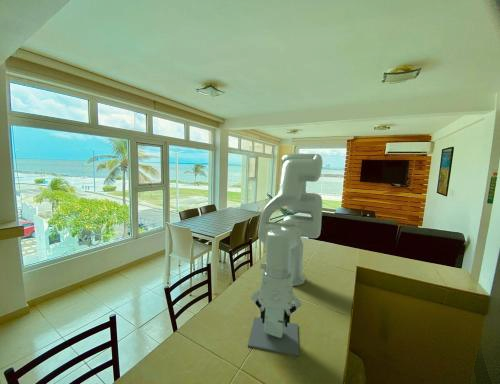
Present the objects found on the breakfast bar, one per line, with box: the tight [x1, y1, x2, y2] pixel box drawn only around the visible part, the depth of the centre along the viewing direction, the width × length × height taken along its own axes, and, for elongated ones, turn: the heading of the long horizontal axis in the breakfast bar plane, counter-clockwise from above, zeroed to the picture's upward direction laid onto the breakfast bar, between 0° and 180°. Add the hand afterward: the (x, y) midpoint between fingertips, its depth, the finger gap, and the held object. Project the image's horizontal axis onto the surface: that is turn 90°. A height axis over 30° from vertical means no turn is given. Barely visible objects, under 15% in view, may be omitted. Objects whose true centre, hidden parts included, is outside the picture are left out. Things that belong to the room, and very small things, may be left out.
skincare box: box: [264, 306, 286, 338], centre depth 67 cm, size 6×4×12 cm
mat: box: [247, 316, 300, 357], centre depth 68 cm, size 12×15×1 cm
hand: (274, 321), depth 67 cm, fingers closed on skincare box, 6 cm apart
